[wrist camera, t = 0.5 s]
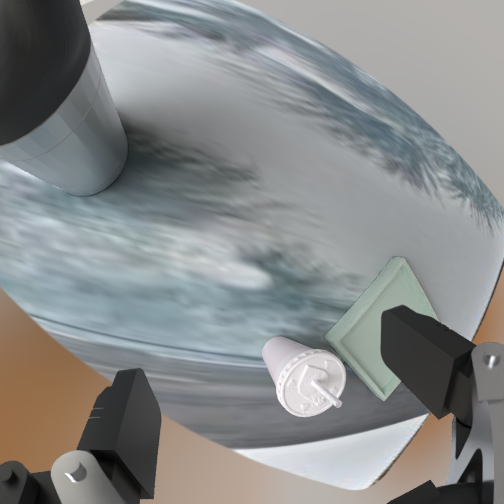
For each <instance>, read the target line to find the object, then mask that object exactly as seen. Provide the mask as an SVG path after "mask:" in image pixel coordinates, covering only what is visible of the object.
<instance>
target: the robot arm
mask: <svg viewBox="0 0 504 504" xmlns="http://www.w3.org/2000/svg"><path fill="white" fill-rule="evenodd" d="M127 154H128V142H127V138H126V134H125V132H124V129H123V126H122V124H121V121H120V118H119V116H118V113H117V110H116V108H115V105H114V103H113V100H112V97H111V94H110V92H109V89H108V86H107V83H106V81H105V78H104V75H103V72H102V69H101V66H100V63H99V60H98V58H97V55H96V52H95V49H94V46H93V43H92V40H91V36H90V33H89V29H88V26H87V24H86V20H85V17H84V15H83V12H82V8H81V5H80V1H79V0H0V158H2V159H3V160H5V161H7V162H9V163H11V164H13V165H15V166H17V167H18V168H20V169H22V170H24V171H26V172H28V173H30V174H32V175H34V176H35V177H37V178H39V179H41V180H43V181H45V182H47V183H49V184H51V185H53V186H54V187H56V188H58V189H60V190H63V191H65V192H67V193H69V194H71V195H75V196H89V195H93V194H96V193H98V192H100V191H102V190H104V189H105V188H107V187H108V186H109V185H111V184H112V183H113V182H114V181H115V179H116V178H117V177H118V176H119V174H120V173H121V171H122V169H123V167H124V165H125V162H126V159H127ZM380 351H381V357H382V360H383V362H384V364H385V365H386V366H387V367H388V368H389V369H390V370H391V371H392V372H393V373H394V374H395V375H396V376H397V377H398V378H399V379H400V380H401V381H402V382H403V383H404V384H405V385H406V387H407V388H408V389H409V390H410V391H411V392H412V393H413V394H414V395H415V396H416V397H417V398H418V399H419V400H420V401H421V402H422V403H423V404H424V405H425V406H426V407H427V408H428V409H429V410H430V411H431V412H432V413H433V414H434V415H435V416H436V417H437V418H438V419H441V418H442V417H444V416H446V415H447V414H449V413H453V414H454V418H453V421H452V450H451V465H450V471H449V475H448V478H447V481H446V484H445V486H441V487H437V488H436V487H435V485H434V484H433V483H432V481H431V480H429V481H427V482H425V483H424V484H422V485H420V486H418V487H416V488H415V489H413V490H411V491H409V492H407V493H405V494H403V495H402V496H400V497H397V498H396V499H393V500H391V501H390V502H388V503H387V504H504V345H503V344H500V343H496V342H487V343H482V344H480V345H478V346H476V345H475V344H473V343H472V342H470V341H469V340H467V339H466V338H464V337H463V336H461V335H459V334H458V333H456V332H455V331H453V330H452V329H450V330H449V328H448V327H447V326H445V325H444V324H441V323H440V322H439V321H437V320H436V319H434V318H432V317H430V316H427V315H423V314H420V313H416V312H415V311H413V310H412V309H410V308H409V307H407V306H405V305H399V306H396V307H393V308H391V309H388V310H385V311H383V312H382V315H381V344H380ZM160 428H161V412H160V408H159V405H158V402H157V400H156V398H155V396H154V394H153V392H152V389H151V387H150V385H149V383H148V380H147V378H146V376H145V373H144V371H143V370H142V369H141V368H136V369H128V370H120V371H118V372H117V374H116V377H115V379H114V382H113V384H112V386H110V387H106V388H105V389H104V391H103V392H102V393H101V394H100V395H99V396H98V397H97V399H96V402H95V404H94V406H93V410H92V411H91V414H90V419H88V421H87V424H86V427H85V429H84V431H83V434H82V437H81V439H80V442H79V444H78V447H77V450H76V451H71V452H68V453H65V454H63V455H62V456H61V457H59V458H58V459H57V460H56V461H55V463H54V464H53V466H52V469H51V471H45V472H38V473H30V472H29V471H28V470H27V469H26V468H25V466H24V465H23V464H22V463H20V462H18V461H8V462H5V463H3V464H1V465H0V504H140V499H154V488H155V476H156V464H157V455H158V446H159V436H160Z"/></svg>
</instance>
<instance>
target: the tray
mask: <svg viewBox="0 0 504 504" xmlns="http://www.w3.org/2000/svg"><path fill="white" fill-rule="evenodd" d="M399 305H405V306H407V307H409V308H410V309H412V310H413V311H415V312H416V313H420V314H423V315H427V316H430V317H432V318H434V319H436V320H437V321H439V319H438V317H437V316H436V314H435V312H434V310H433V308H432V306H431V304H430V302H429V300H428V298H427V296H426V295H425V293H424V291H423V289H422V287H421V286H420V284H419V282H418V280H417V278H416V277H415V275H414V273H413V272H412V270H411V268H410V266H409V265H408V263H407V261H406V260H405V258H404V257H393V258H392V259H391V260H390V261H389V263H388V264H387V265H386V266H385V268H384V269H383V270H382V271H381V273H380V274H379V275H378V276H377V277H376V279H375V280H374V281H373V282H372V283H371V285H370V286H369V287H368V288H367V289H366V290H365V292H364V293H363V294H362V295H361V296H360V297H359V299H358V300H357V301H356V302H355V303H354V304H353V305H352V307H351V308H350V309H349V310H348V311H347V312H346V313H345V314H344V316H343V317H342V318H341V319H340V320H339V321H338V322H337V323H336V324H335V325H334V326H333V328H332V329H331V330H330V331H329V332H328V333H327V334H326V335H325V336H324V338H325V339H326V340H327V342H328V343H329V344H330V345H331V346H332V347H333V348H334V350H335V351H336V352H337V353H338V354H339V355H340V356H341V357H342V359H343V360H344V361H345V362H346V363H347V364H348V365H349V366H350V368H351V369H352V370H353V371H354V372H355V373H356V374H357V375H358V377H359V378H360V379H361V380H362V381H363V382H364V383H365V384H366V386H367V387H368V388H369V389H370V390H371V391H372V392H373V393H374V395H375V396H377V397H378V398H380V399H381V400H383V401H385V400H386V398H387V397H388V396H389V395H390V394H391V393H392V391H393V390H394V389H395V388H396V387H397V386H398V384H399V383H400V382H401V380H400V379H399V378H398V377H397V376H396V375H395V374H394V373H393V372H392V371H391V370H390V369H389V368H388V367H387V366H386V365H385V364H384V362H383V360H382V357H381V351H380V344H381V315H382V312H383V311H385V310H388V309H391V308H393V307H396V306H399ZM439 322H440V321H439Z"/></svg>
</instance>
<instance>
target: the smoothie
mask: <svg viewBox="0 0 504 504" xmlns="http://www.w3.org/2000/svg"><path fill="white" fill-rule="evenodd" d="M262 356H263V359H264V361H265V364H266V366H267V368H268V370H269V372H270V374H271V377H272V379H273V381H274V383H275V385H276V388H277V389H276V393H277V397H278V400H279V401H280V403H281V404H282V406H283V407H285V409H286V410H287V411H288V412H290V413H291V414H293V415H296V416H300V417H309V416H314V415H317V414H320V413H322V412H324V411H325V410H327V409H328V408H330V407H331V406H332V405H334V406H336V407H337V408H339V407H340V406H341V405H342V402H341V401H340V400H339V399H338V398H339V397H340V395H341V394H342V392H343V389H344V387H345V383H346V370H345V367H344V365H343V363H342V362H341V360H340V359H339V358H337V357H336V356H335V355H334V354H332V353H330V352H328V351H326V350H320V349H312V348H310V347H307V346H305V345H302V344H300V343H297V342H295V341H293V340H290V339H288V338H286V337H282V336H277V337H274V338H271V339H270V340H269V341H267V342H266V344H265V345H264V347H263V350H262Z"/></svg>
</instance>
